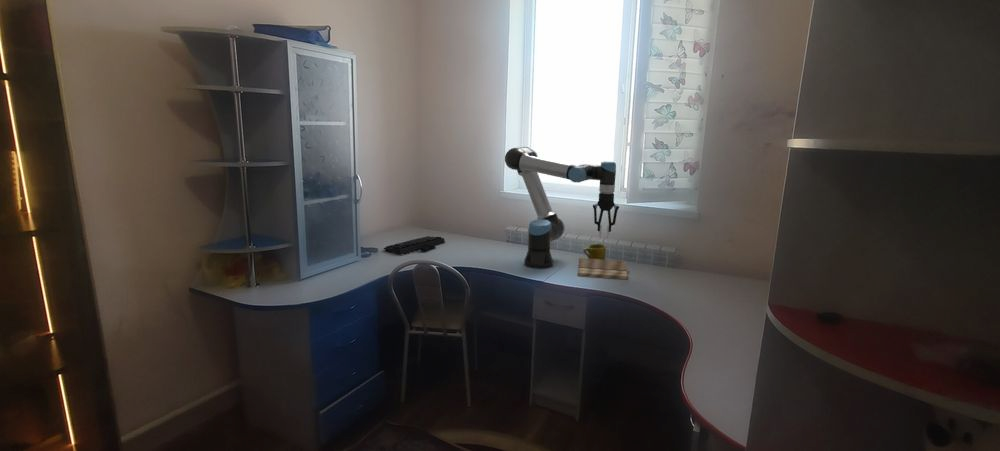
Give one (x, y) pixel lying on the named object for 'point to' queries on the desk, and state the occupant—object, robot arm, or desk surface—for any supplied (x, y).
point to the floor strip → (602, 273)
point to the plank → (602, 264)
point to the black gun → (416, 245)
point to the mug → (596, 251)
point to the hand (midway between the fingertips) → (603, 237)
